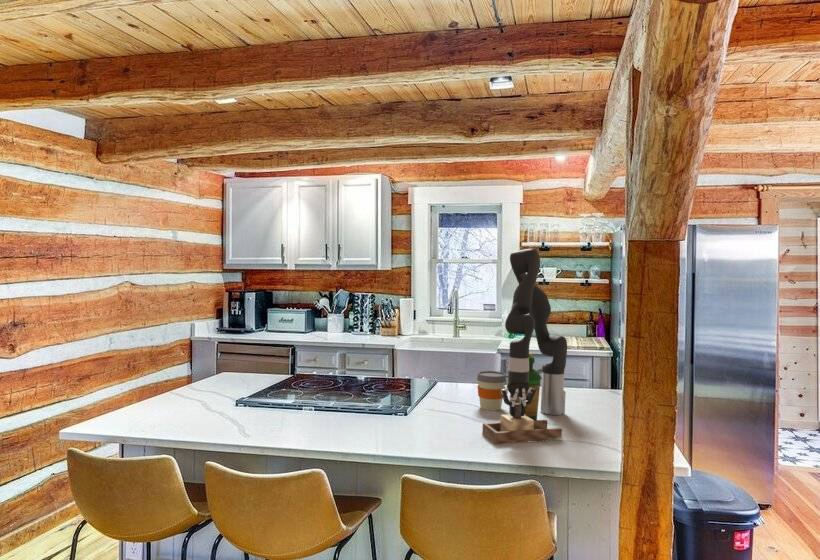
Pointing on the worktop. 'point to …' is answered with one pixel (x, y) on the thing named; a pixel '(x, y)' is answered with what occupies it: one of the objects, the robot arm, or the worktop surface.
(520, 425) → the light wooden block
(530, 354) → the bottle
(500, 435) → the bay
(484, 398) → the reusable coffee cup
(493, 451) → the worktop surface
